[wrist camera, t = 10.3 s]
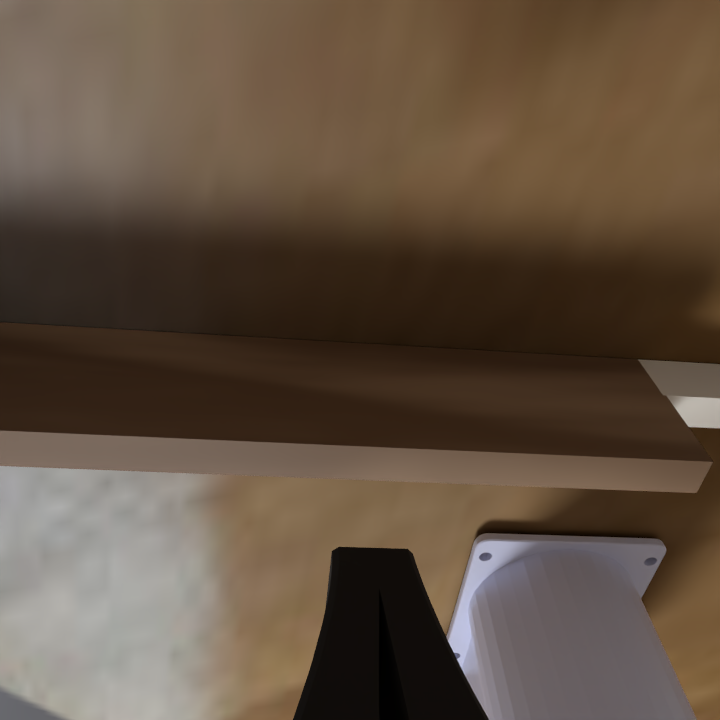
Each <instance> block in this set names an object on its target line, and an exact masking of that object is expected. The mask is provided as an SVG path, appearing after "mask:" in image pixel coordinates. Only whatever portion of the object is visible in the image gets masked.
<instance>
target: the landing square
mask: <svg viewBox="0 0 720 720" xmlns="http://www.w3.org/2000/svg"><path fill="white" fill-rule="evenodd" d="M638 360H639V362H640V363H641V364H642V366H643V367H644V369H645V370H646V372H647V373H648V374H649V376H650V377H651V379H652V380H653V382H654V383H655V384H656V386H657V387H658V389H659V390H660V392H661V393H662V394H663V395H666V396H667V397H668V399H669V400H670V402H671V403H672V404H673V406H674V407H675V409H676V410H677V411H678V413H679V414H680V416H681V417H682V419H683V420H684V421H685V423H686V424H687V426H688V427H701V428H720V364H709V363H692V362H674V361H657V360H640V359H638Z"/></svg>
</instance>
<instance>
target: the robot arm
mask: <svg viewBox="0 0 720 720" xmlns="http://www.w3.org/2000/svg"><path fill="white" fill-rule="evenodd" d="M665 553H666V547H665V545H664V544H663V542H662V541H661V540H660V539H653V538H622V537H591V536H560V535H529V534H498V533H485V534H482V535H479V536H478V537H477V538H476V539H475V541H474V544H473V547H472V551H471V554H470V558H469V561H468V565H467V568H466V572H465V575H464V579H463V582H462V585H461V589H460V592H459V596H458V599H457V603H456V606H455V610H454V613H453V617H452V620H451V624H450V627H449V631H448V634H447V638H446V636H445V634H444V632H443V629H442V627H441V625H440V623H439V621H438V618H437V616H436V614H435V611H434V609H433V607H432V604H431V602H430V600H429V597H428V595H427V592H426V590H425V587H424V585H423V582H422V579H421V577H420V574H419V571H418V568H417V565H416V562H415V559H414V556H413V554H412V553H411V552H410V551H409V550H408V549H391V548H357V547H338V548H336V549H335V550H333V551H332V556H331V565H330V574H329V583H328V592H327V601H326V610H325V614H324V619H323V623H322V627H321V631H320V635H319V638H318V642H317V646H316V650H315V653H314V657H313V661H312V664H311V667H310V671H309V674H308V677H307V680H306V683H305V686H304V689H303V692H302V695H301V698H300V701H299V704H298V707H297V710H296V713H295V716H294V718H293V720H697V719H696V717H695V715H694V712H693V710H692V708H691V706H690V704H689V702H688V699H687V697H686V695H685V693H684V691H683V689H682V686H681V684H680V682H679V680H678V678H677V676H676V673H675V671H674V669H673V667H672V665H671V663H670V660H669V658H668V656H667V654H666V652H665V650H664V647H663V645H662V643H661V641H660V639H659V637H658V634H657V632H656V630H655V628H654V626H653V624H652V621H651V619H650V617H649V615H648V613H647V611H646V608H645V606H644V604H643V602H642V600H641V598H642V596H643V594H644V593H645V591H646V589H647V587H648V585H649V583H650V581H651V579H652V578H653V576H654V574H655V572H656V570H657V568H658V566H659V565H660V563H661V561H662V559H663V557H664V555H665Z"/></svg>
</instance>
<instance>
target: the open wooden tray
mask: <svg viewBox="0 0 720 720" xmlns="http://www.w3.org/2000/svg"><path fill="white" fill-rule="evenodd" d="M712 463H713V461H712V460H711V458H710V457H709V455H708V454H707V452H706V451H705V450H704V448H703V447H702V445H701V444H700V443H699V441H698V440H697V438H696V437H695V435H694V434H693V433H692V431H691V430H690V428H689V427H688V426H687V424H686V423H685V421H684V420H683V419H682V417H681V416H680V414H679V413H678V411H677V410H676V409H675V407H674V406H673V404H672V403H671V402H670V400H669V399H668V397H667V396H666V395H663V394H662V393H661V392H660V390H659V389H658V387H657V386H656V384H655V383H654V382H653V380H652V379H651V377H650V376H649V374H648V373H647V372H646V370H645V369H644V367H643V366H642V364H641V363H640V362H639V360H638V359H623V358H606V357H589V356H572V355H554V354H537V353H520V352H503V351H486V350H469V349H451V348H434V347H417V346H400V345H383V344H366V343H348V342H331V341H314V340H297V339H280V338H263V337H246V336H228V335H211V334H194V333H177V332H160V331H143V330H125V329H108V328H91V327H74V326H57V325H40V324H23V323H5V322H0V466H18V467H44V468H69V469H95V470H120V471H146V472H171V473H197V474H222V475H248V476H273V477H299V478H324V479H350V480H375V481H401V482H426V483H452V484H477V485H503V486H528V487H554V488H579V489H605V490H630V491H656V492H681V493H697V491H698V489H699V487H700V486H701V484H702V482H703V480H704V478H705V476H706V474H707V473H708V471H709V469H710V467H711V465H712Z"/></svg>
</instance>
